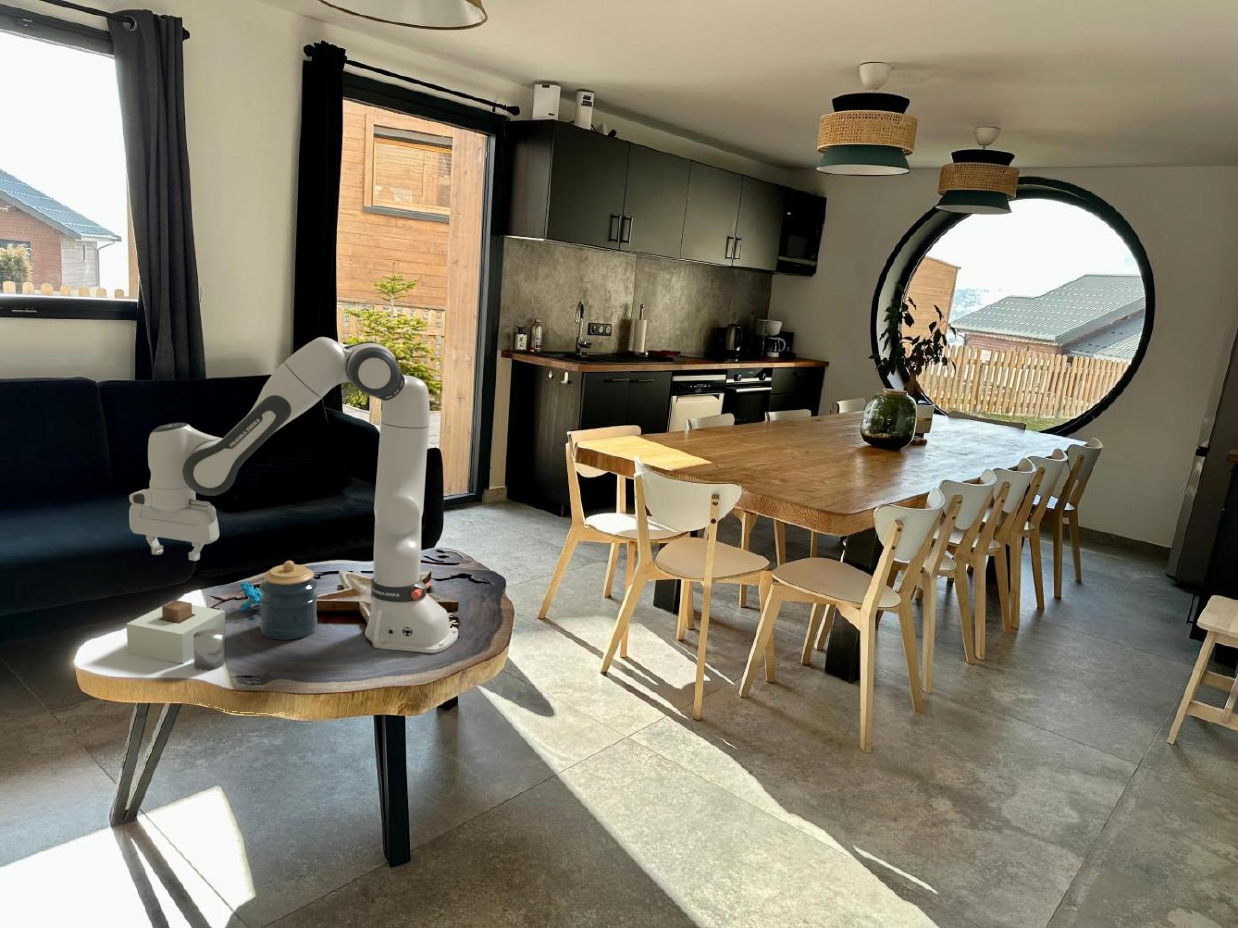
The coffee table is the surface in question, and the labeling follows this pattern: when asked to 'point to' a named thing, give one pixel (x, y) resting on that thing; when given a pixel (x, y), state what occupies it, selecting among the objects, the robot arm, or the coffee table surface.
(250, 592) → the blue irregular piece
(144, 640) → the block
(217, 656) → the round bit
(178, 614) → the square bit
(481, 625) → the coffee table surface
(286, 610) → the canister
